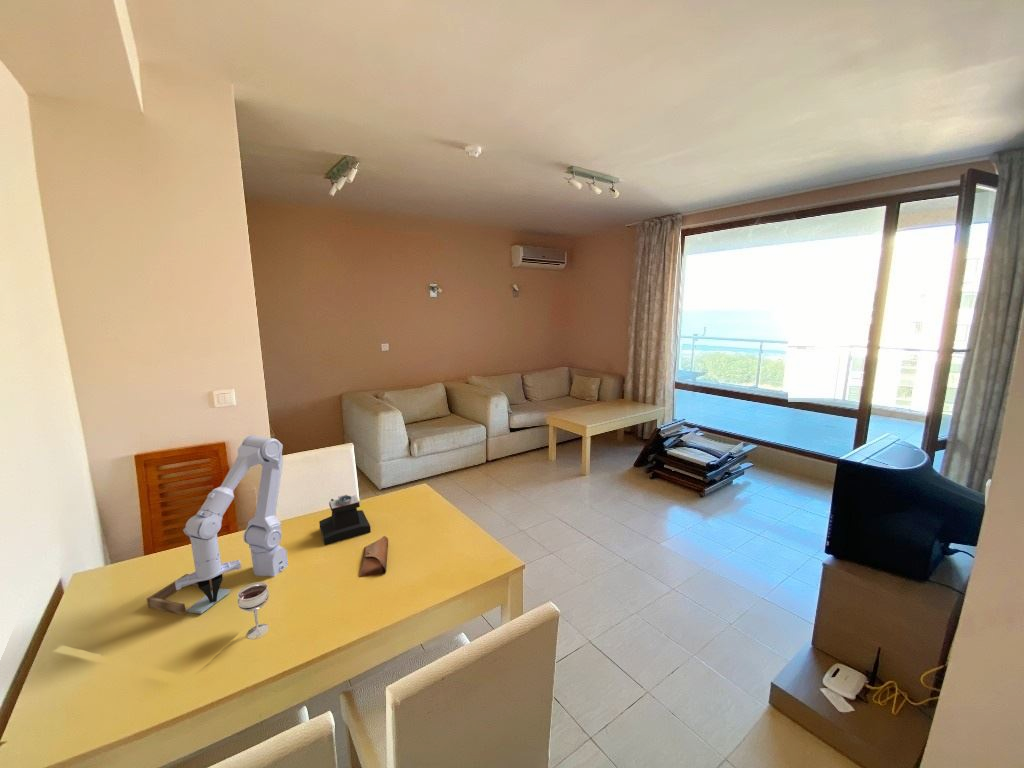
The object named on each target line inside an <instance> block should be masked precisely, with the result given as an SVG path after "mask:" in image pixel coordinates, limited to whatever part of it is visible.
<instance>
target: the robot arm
mask: <svg viewBox="0 0 1024 768" xmlns="http://www.w3.org/2000/svg"><path fill="white" fill-rule="evenodd" d="M283 446H284V445H283V443H281V442H280V441H279V440H278V439H276V438H273V437H271V438H269V437H264V436H257V435H253V434H251V435H248V436H246V437H244V438H243V441H242V442H241V444H240V446H238V448H237V457H236V458H235V460H234V462H233V464H232V465H231V466H230V469H229V471H228V472H227V474H226V476H225V477H224V480H223V481H222V483H221V484H220V486H218V487H216V488H213V489H212V490H211V492H209V493H208V494H207V495H206V497H207V498H206V499H205V501H204V503H203V504H202V506H201V507H200V508H199V509H198V511H197V513H196V514H195V515H193V516H192V517H190V518H189V519H188V520H187V522H186V523H185V527H184V528H183V529H182V530H183V532H184V535H186V536H188V537H189V541H190V544H191V551H192V557H193V563H194V571H193V572H191V573H188V574H189V575H187V576H185V577H183V578H181V577H180V578H181V579H179V578H177V579H178V580H177V579H175V580H174V581H175V586H176V590H178V591H180V590H181V589H182V588H184V587H187V586H191V585H190V584H193V583H196V582H198V586H197V587H198V589H199V591H200V590H201V591H202V593H204V595H205V596H207V597H208V599H209V601H210V603H212V602H213V600H214V602H216V603H218V602H217V594H218V590H219V587H220V588H221V585H222V583H223V578H224V577H223V575H224V574H225V573H229V572H232V571H235V570H242V564H241V559H236V560H232V561H227V562H221V554H220V553H221V552H220V547H219V537H218V533H219V531H220V530H221V528H222V521H223V519H224V518H223V516H224V515H225V513H226V511H227V510H228V509H229V507H230V505H231V503H232V502H233V501H234V499H235V494H234V491H235V489H236V488H237V486H238V485H239V483H240V482H241V481H242V480H243V478H244V477H245V476H246V474H247V472H248V471H249V470H250V468H252V467H254V466H257V465H260V466H262V467H261V474H260V482H259V486H258V487H259V488H258V494H257V501H256V508H255V515H254V517H252V518H251V519H250V520H248V521H247V522H248V523H247V527H246V529H245V530H244V532H243V537H242V538H243V542H244V543H246V545H248V548H249V549H250V554H251V563H252V564H251V565H252V569H253V574H254V575H255V576H258V577H262V576H263V577H264V576H265V577H272V578H276V577H277V576H278V575H279V574H280V573H281V572H282V571H283V570H285V569H286V568H287V567H288V566H289V560H288V558H289V557H288V551H287V548H285V547H283V546H281V545H280V543H281V540H282V537H283V532H282V522H281V521H280V520H279V519H278V518H277V516H276V513H277V506H278V501H279V492H280V486H281V485H280V484H281V478H282V473H283V472H282V471H283V465H284V457H283V448H284V447H283ZM209 579H211V581H212V589H210V582H209ZM181 587H182V588H181ZM212 591H213V597H212V593H211V592H212Z"/></svg>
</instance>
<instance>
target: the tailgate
mask: <svg viewBox="0 0 1024 768" xmlns="http://www.w3.org/2000/svg"><path fill="white" fill-rule="evenodd" d="M211 593H212V597H213V590H211ZM230 593H231V589H230V588H220V589H219V590H218V594H217V602H214V600H213V602H212V603H210V601H209V599H208V597H207V596H206V595H204V596H203V597H202V598H200V599H199V600H197V601H196V602H195V603H194V604H192V605H191V606H189V607H188V608H187V609H186V613H189V614H191V613H192V614H200V615H201V614H203V613H204V612H206V611H207V610H209V609H210V608H211V607H213V606H214V605H215V604H217V603H218V602H219V601H221V600H222V599H223V598H224V597H226V596H227V595H228V594H230Z"/></svg>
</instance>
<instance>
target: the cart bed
mask: <svg viewBox="0 0 1024 768" xmlns="http://www.w3.org/2000/svg"><path fill="white" fill-rule="evenodd" d="M189 574H190V573H185V574H184V575H182V576H180V577H179V578H177V579H176V580H178V579H181V578H183V577H185V576H187V575H189ZM209 582H210V589H211V590H212V581H211V579H209ZM189 586H193V587H198V582H196V583H193V584H190V585H189ZM181 589H183V587H181ZM219 589H221V586H220V587H219ZM178 591H179V590H176V586H175V580H174V581H173V582H171V583H169V584H168V585H167V586H164V587H163V588H162V589H160V590H158V591H157V592H155V593H154V594H152V595H151V596H149V597H148V598H146V601H147V607H148V609H152V610H157V611H162V612H165V613H171V614H176V615H179V616H184V615H185V614H187V609H186V605H185V603H181V602H177V601H172V600H167V598H168V597H170V596H171V595H173V594H176V592H178Z"/></svg>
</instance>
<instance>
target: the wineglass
mask: <svg viewBox="0 0 1024 768" xmlns="http://www.w3.org/2000/svg"><path fill="white" fill-rule="evenodd" d="M268 586H269V585H268V584H267V582H264V581H255V582H253V583H252V582H251V583H249V584H247V585H245V586H244V587H241V588H240V589H239V591H238V592H237V595H236V597H237V598H238V599H237V605H238V607H239V609H240V610H242V611H244V612H247V613H252V612H253V616H254V621H255V626H253V627H251V628H250V629H249V630H248V631H247V632H246V637H247V638H248V639H249V640H254V639H258V638H260V637H262V636H265V634H266V633H267V632H268V631H269V628H270V627H269V625H268V624H266V623H260V624H259V619H258V610H259V609H261V608H262V607H263V606H264V605H265V604H266V603H267V601H268V600H269V596H270V593H269V589H268Z"/></svg>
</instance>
